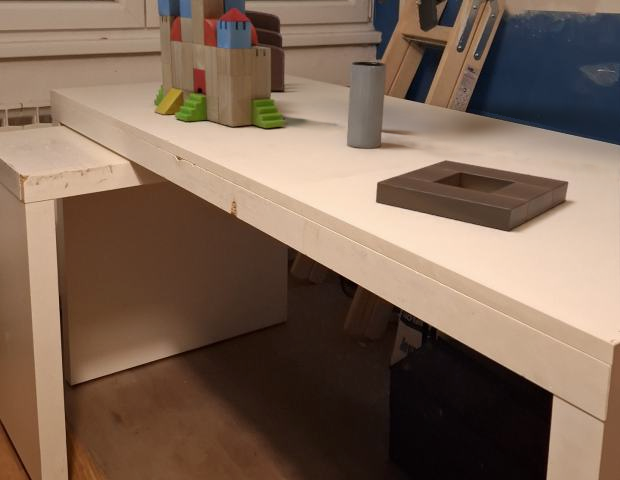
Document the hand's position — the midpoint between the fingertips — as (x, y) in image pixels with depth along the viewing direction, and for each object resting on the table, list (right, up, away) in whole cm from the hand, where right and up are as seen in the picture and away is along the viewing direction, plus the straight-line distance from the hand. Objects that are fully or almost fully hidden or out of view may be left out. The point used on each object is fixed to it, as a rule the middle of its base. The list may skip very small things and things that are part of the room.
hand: (408, 14), depth 92 cm
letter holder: (-27, +10, +56) cm, 64 cm away
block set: (-27, -4, +27) cm, 39 cm away
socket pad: (+4, -26, -15) cm, 30 cm away
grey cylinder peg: (-5, -14, +9) cm, 17 cm away
